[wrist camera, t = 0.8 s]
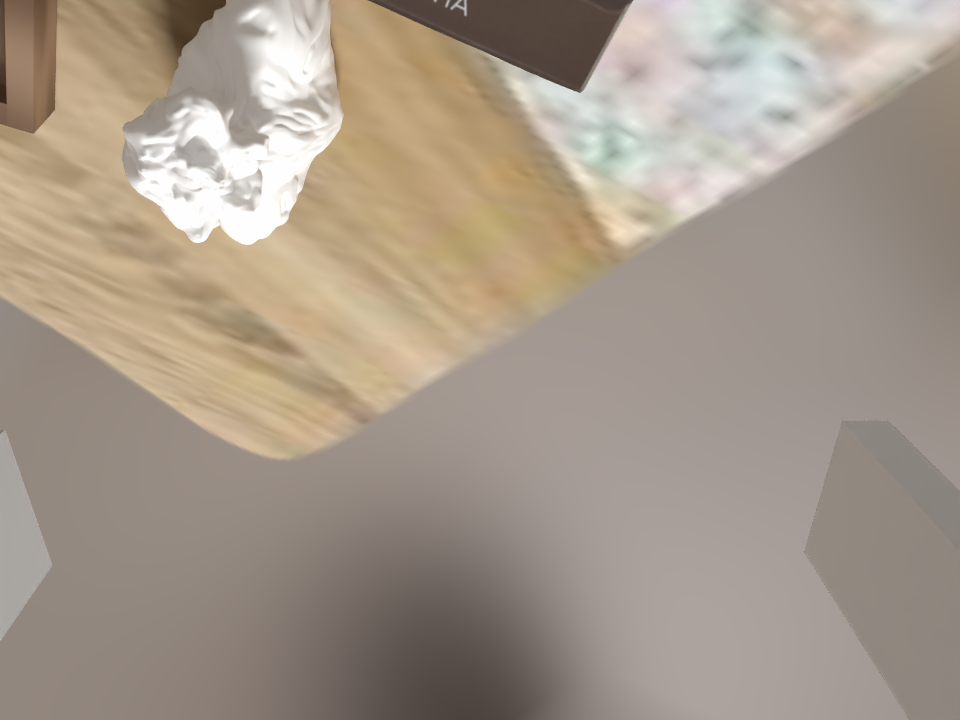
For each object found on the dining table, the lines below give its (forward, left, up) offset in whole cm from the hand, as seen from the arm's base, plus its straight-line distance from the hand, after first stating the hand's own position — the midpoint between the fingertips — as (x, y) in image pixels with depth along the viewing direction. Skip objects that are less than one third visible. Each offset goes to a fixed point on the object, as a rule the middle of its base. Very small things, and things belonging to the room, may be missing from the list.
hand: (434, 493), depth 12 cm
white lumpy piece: (+5, -6, -26) cm, 27 cm away
